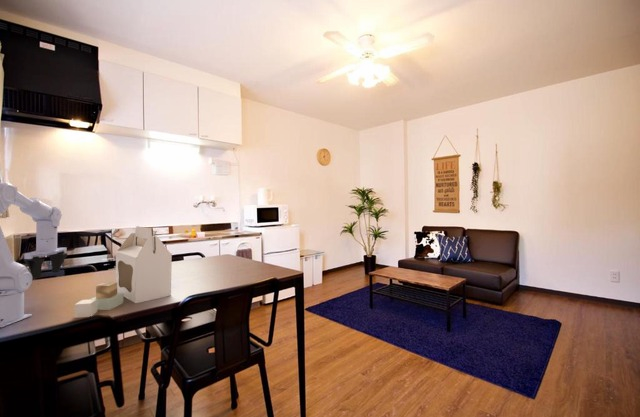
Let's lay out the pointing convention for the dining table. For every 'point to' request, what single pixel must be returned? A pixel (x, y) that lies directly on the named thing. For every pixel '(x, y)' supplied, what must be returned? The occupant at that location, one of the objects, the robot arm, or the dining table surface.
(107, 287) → the oak cube
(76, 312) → the cream cube
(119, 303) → the sage block
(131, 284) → the gable box
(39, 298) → the dining table surface
